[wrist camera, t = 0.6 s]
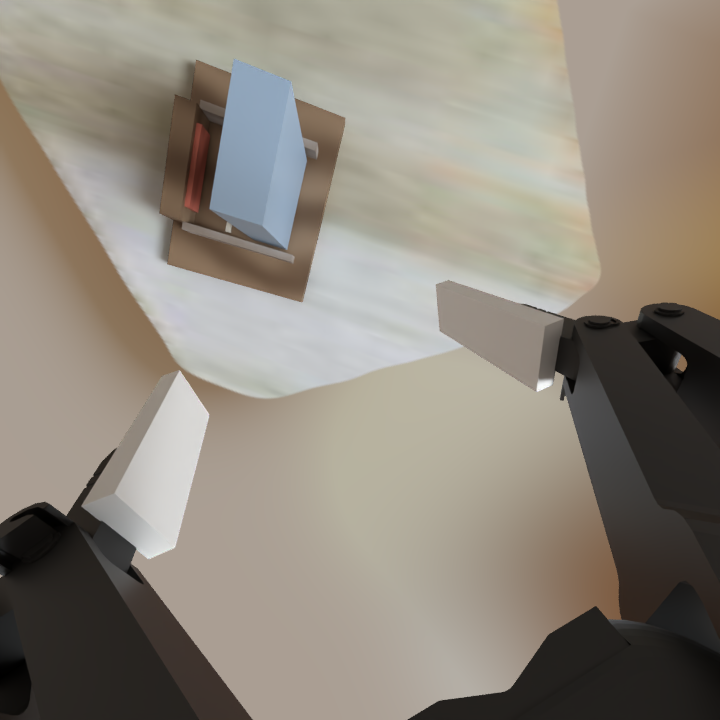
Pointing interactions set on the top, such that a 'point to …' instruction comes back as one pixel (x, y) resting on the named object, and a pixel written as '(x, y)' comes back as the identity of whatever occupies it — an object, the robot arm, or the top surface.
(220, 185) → the blue-grey rectangular block
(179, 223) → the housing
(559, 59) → the top surface
